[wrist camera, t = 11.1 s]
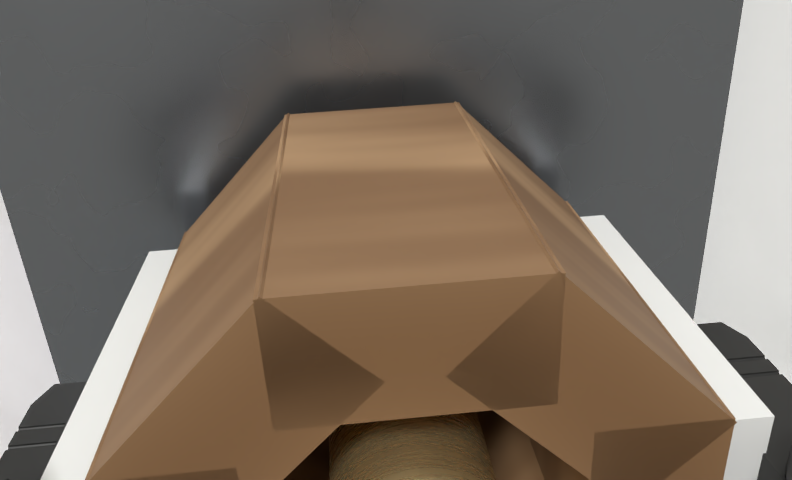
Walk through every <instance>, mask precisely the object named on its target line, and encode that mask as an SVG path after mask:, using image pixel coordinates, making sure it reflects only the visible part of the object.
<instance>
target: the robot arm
mask: <svg viewBox="0 0 792 480" xmlns="http://www.w3.org/2000/svg"><path fill="white" fill-rule="evenodd" d="M580 218H581V219H582V221H583V222H584V223H585V224H586V226H587V227H588V228H589V230H590V231H591V232H592V234H593V235H594V236H595V237H596V239H597V240H598V241H599V243H600V244H601V245H602V246H603V248H604V249H605V250H606V252H607V253H608V254H609V255H610V257H611V258H612V259H613V261H614V262H615V263H616V265H617V266H618V267H619V268H620V270H621V271H622V272H623V274H624V275H625V276H626V277H627V279H628V280H629V281H630V283H631V284H632V285H633V286H634V288H635V289H636V290H637V292H638V293H639V294H640V296H641V297H642V298H643V299H644V301H645V302H646V303H647V305H648V306H649V307H650V308H651V310H652V311H653V312H654V314H655V315H656V316H657V317H658V319H659V320H660V321H661V323H662V324H663V325H664V326H665V328H666V329H667V330H668V332H669V333H670V334H671V336H672V337H673V338H674V339H675V341H676V342H677V343H678V345H679V346H680V347H681V348H682V350H683V351H684V352H685V354H686V355H687V356H688V357H689V359H690V360H691V361H692V363H693V364H694V365H695V367H696V368H697V369H698V370H699V372H700V373H701V374H702V376H703V377H704V378H705V379H706V381H707V382H708V383H709V385H710V386H711V387H712V388H713V390H714V391H715V392H716V394H717V395H718V396H719V397H720V399H721V400H722V401H723V403H724V404H725V405H726V407H727V408H728V409H729V410H730V412H731V413H732V414H733V416H734V417H735V418H736V419H735V421H736V422H737V423H736V424H735V425H734V429H733V434H732V439H731V444H730V449H729V454H728V459H727V464H726V468H725V473H724V478H723V480H792V384H791V383H790V382H789V381H788V380H787V379H786V378H785V377H784V376H783V375H782V374H781V375H779V370H778V369H777V368H776V367H775V366H774V365H773V364H772V363H771V362H770V361H769V360H768V359H765V357H764V356H765V355H764V354H763V353H762V352H761V351H760V350H759V349H758V348H757V347H756V346H755V345H754V344H753V343H752V342H751V341H750V340H749V338H748V337H746V336H744V335H743V334H741V333H739V332H737V331H736V330H734V329H732V328H730V327H729V326H727V325H725V324H723V323H722V322H718V323H707V324H696V323H695V322H694V321H693V320H692V318H691V317H690V316H689V315H688V314H687V313H686V311H685V310H684V309H683V308H682V307H681V305H680V304H679V303H678V302H677V301H676V300H675V298H674V297H673V296H672V295H671V294H670V293H669V291H668V290H667V289H666V288H665V287H664V285H663V284H662V283H661V282H660V281H659V280H658V278H657V277H656V276H655V275H654V274H653V273H652V271H651V270H650V269H649V268H648V267H647V265H646V264H645V263H644V262H643V261H642V260H641V258H640V257H639V256H638V255H637V254H636V253H635V251H634V250H633V249H632V248H631V247H630V245H629V244H628V243H627V242H626V241H625V240H624V238H623V237H622V236H621V235H620V234H619V233H618V231H617V230H616V229H615V228H614V227H613V225H612V224H611V223H610V222H609V221H608V220H607V218H606V217H605V216H604V215H598V216H585V217H580ZM177 250H178V249H175V250H162V251H150V252H149V253H148V255H147V257H146V260H145V262H144V264H143V266H142V268H141V270H140V272H139V274H138V276H137V278H136V280H135V283H134V285H133V287H132V289H131V291H130V293H129V295H128V297H127V299H126V301H125V303H124V306H123V308H122V310H121V312H120V314H119V316H118V318H117V320H116V322H115V324H114V327H113V329H112V331H111V333H110V335H109V337H108V339H107V341H106V343H105V345H104V347H103V350H102V352H101V354H100V356H99V358H98V360H97V362H96V364H95V366H94V368H93V370H92V373H91V375H90V377H89V379H88V381H86V382H75V383H64V384H54V385H53V386H52V387H51V388H50V389H49V390H48V391H46V392H45V393H44V394H43V395H42V396H41V397H40V398H38V399H37V400H36V401H35V402H34V403H33V404H32V405H31V406H30V408H29V410H28V411H27V413H26V415H25V417H24V418H23V420H22V422H21V424H20V426H19V431H18V432H16V433H15V434H14V436H13V438H12V440H11V441H10V443H9V445H8V450H5V452H4V454H3V456H2V457H1V459H0V480H85V478H86V476H87V473H88V471H89V468H90V466H91V463H92V461H93V458H94V456H95V453H96V451H97V448H98V446H99V443H100V441H101V438H102V436H103V433H104V431H105V428H106V426H107V423H108V421H109V418H110V416H111V414H112V411H113V409H114V406H115V404H116V401H117V399H118V396H119V394H120V391H121V389H122V386H123V384H124V381H125V379H126V376H127V374H128V371H129V369H130V366H131V364H132V361H133V359H134V356H135V354H136V352H137V349H138V347H139V344H140V342H141V339H142V337H143V334H144V332H145V329H146V327H147V324H148V322H149V319H150V317H151V314H152V312H153V309H154V307H155V304H156V302H157V299H158V297H159V294H160V292H161V289H162V287H163V285H164V282H165V280H166V277H167V275H168V272H169V270H170V267H171V265H172V262H173V260H174V257H175V255H176V252H177Z"/></svg>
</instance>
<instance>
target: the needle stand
mask: <svg viewBox="0 0 792 480" xmlns="http://www.w3.org/2000/svg"><path fill="white" fill-rule="evenodd" d="M742 7H743V0H0V190H1V193H2V197H3V200H4V203H5V206H6V210H7V213H8V216H9V219H10V223H11V226H12V229H13V232H14V235H15V239H16V242H17V245H18V248H19V252H20V255H21V258H22V261H23V265H24V268H25V271H26V274H27V278H28V281H29V284H30V287H31V291H32V294H33V297H34V300H35V304H36V307H37V310H38V313H39V317H40V320H41V323H42V326H43V329H44V333H45V336H46V339H47V342H48V346H49V349H50V352H51V355H52V359H53V362H54V365H55V368H56V372H57V375H58V378H59V381H60V384H64V383H75V382H86V381H88V379H89V377H90V375H91V373H92V370H93V368H94V366H95V364H96V362H97V360H98V358H99V356H100V354H101V352H102V350H103V347H104V345H105V343H106V341H107V339H108V337H109V335H110V333H111V331H112V329H113V327H114V324H115V322H116V320H117V318H118V316H119V314H120V312H121V310H122V308H123V306H124V303H125V301H126V299H127V297H128V295H129V293H130V291H131V289H132V287H133V285H134V283H135V280H136V278H137V276H138V274H139V272H140V270H141V268H142V266H143V264H144V262H145V260H146V257H147V255H148V253H149V252H150V251H162V250H175V249H178V247H179V245H180V242H181V240H182V237H183V235H184V232H187V231H188V230H189V228H190V227H191V226H192V225H193V224H194V223H195V221H196V220H197V219H198V218H199V217H200V216H201V214H202V213H203V212H204V211H205V210H206V209H207V207H208V206H209V205H210V204H211V203H212V202H213V200H214V199H215V198H216V197H217V196H218V195H219V193H220V192H221V191H222V190H223V189H224V187H225V186H226V185H227V184H228V183H229V182H230V180H231V179H232V178H233V177H234V176H235V175H236V173H237V172H238V171H239V170H240V169H241V168H242V166H243V165H244V164H245V163H246V162H247V161H248V159H249V158H250V157H251V156H252V155H253V154H254V152H255V151H256V150H257V149H258V148H259V146H260V145H261V144H262V143H263V142H264V141H265V139H266V138H267V137H268V136H269V135H270V134H271V132H272V131H273V130H274V129H275V128H276V127H277V125H278V124H279V123H280V122H281V121H282V120H283V118H284V115H286V114H288V113H289V114H300V113H315V112H329V111H343V110H357V109H371V108H385V107H400V106H414V105H428V104H442V103H454V102H455V101H456V102H459V103H460V105H461V106H462V108H463V109H465V110H466V111H467V112H468V113H469V114H470V115H471V116H472V117H473V118H474V119H476V120H477V121H478V122H479V123H480V124H481V125H482V126H483V127H484V128H485V129H487V130H488V131H489V132H490V133H491V134H492V135H493V136H494V137H495V138H496V139H497V140H499V141H500V142H501V143H502V144H503V145H504V146H505V147H506V148H507V149H508V150H510V151H511V152H512V153H513V154H514V155H515V156H516V157H517V158H518V159H519V160H521V161H522V162H523V163H524V164H525V165H526V166H527V167H528V168H529V169H530V170H532V171H533V172H534V173H535V174H536V175H537V176H538V177H539V178H540V179H541V180H543V181H544V182H545V183H546V184H547V185H548V186H549V187H550V188H551V189H552V190H554V191H555V192H556V193H557V194H558V195H559V196H560V197H561V198H562V199H563V200H565V201H568V203H569V204H570V205H571V206H572V208H573V209H574V210H575V212H576V213H577V214H578V215H579V217H585V216H598V215H604V216H605V217H606V218H607V220H608V221H609V222H610V223H611V224H612V225H613V227H614V228H615V229H616V230H617V231H618V233H619V234H620V235H621V236H622V237H623V238H624V240H625V241H626V242H627V243H628V244H629V245H630V247H631V248H632V249H633V250H634V251H635V253H636V254H637V255H638V256H639V257H640V258H641V260H642V261H643V262H644V263H645V264H646V265H647V267H648V268H649V269H650V270H651V271H652V273H653V274H654V275H655V276H656V277H657V278H658V280H659V281H660V282H661V283H662V284H663V285H664V287H665V288H666V289H667V290H668V291H669V293H670V294H671V295H672V296H673V297H674V298H675V300H676V301H677V302H678V303H679V304H680V305H681V307H682V308H683V309H684V310H685V311H686V313H687V314H688V315H689V316H690V317H691V318H692V320H693V318H694V312H695V305H696V299H697V293H698V286H699V280H700V274H701V267H702V261H703V255H704V248H705V242H706V235H707V229H708V223H709V216H710V210H711V204H712V197H713V191H714V185H715V178H716V172H717V166H718V159H719V153H720V146H721V140H722V134H723V127H724V121H725V115H726V108H727V102H728V96H729V89H730V83H731V76H732V70H733V64H734V57H735V51H736V45H737V38H738V32H739V26H740V19H741V13H742ZM329 479H330V480H496V476H495V473H494V470H493V466H492V463H491V459H490V456H489V452H488V449H487V446H486V442H485V439H484V435H483V432H482V429H481V425H480V422H479V418H478V415H477V412H469V413H458V414H448V415H437V416H427V417H417V418H406V419H396V420H386V421H375V422H365V423H354V424H344V425H340V426H339V427H338V428H337V429H335V430H334V431H333V432H332V433H331V434H330V435H329Z"/></svg>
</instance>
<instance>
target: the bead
mask: <svg viewBox="0 0 792 480" xmlns="http://www.w3.org/2000/svg"><path fill="white" fill-rule="evenodd" d="M469 412H477V415H478V418H479V422H480V425H481V429H482V432H483V435H484V439H485V442H486V446H487V449H488V452H489V456H490V459H491V463H492V466H493V470H494V473H495V476H496V480H723V478H724V473H725V468H726V464H727V459H728V454H729V449H730V444H731V439H732V434H733V429H734V425H735V424H736V423H737V422H736V421H735V419H736V418H735V417H734V416H733V414H732V413H731V412H730V410H729V409H728V408H727V407H726V405H725V404H724V403H723V401H722V400H721V399H720V397H719V396H718V395H717V394H716V392H715V391H714V390H713V388H712V387H711V386H710V385H709V383H708V382H707V381H706V379H705V378H704V377H703V376H702V374H701V373H700V372H699V370H698V369H697V368H696V367H695V365H694V364H693V363H692V361H691V360H690V359H689V357H688V356H687V355H686V354H685V352H684V351H683V350H682V348H681V347H680V346H679V345H678V343H677V342H676V341H675V339H674V338H673V337H672V336H671V334H670V333H669V332H668V330H667V329H666V328H665V326H664V325H663V324H662V323H661V321H660V320H659V319H658V317H657V316H656V315H655V314H654V312H653V311H652V310H651V308H650V307H649V306H648V305H647V303H646V302H645V301H644V299H643V298H642V297H641V296H640V294H639V293H638V292H637V290H636V289H635V288H634V286H633V285H632V284H631V283H630V281H629V280H628V279H627V277H626V276H625V275H624V274H623V272H622V271H621V270H620V268H619V267H618V266H617V265H616V263H615V262H614V261H613V259H612V258H611V257H610V255H609V254H608V253H607V252H606V250H605V249H604V248H603V246H602V245H601V244H600V243H599V241H598V240H597V239H596V237H595V236H594V235H593V234H592V232H591V231H590V230H589V228H588V227H587V226H586V224H585V223H584V222H583V221H582V219H581V218H580V217H579V215H578V214H577V213H576V212H575V210H574V209H573V208H572V206H571V205H570V204H569V203H568V201H565V200H563V199H562V198H561V197H560V196H559V195H558V194H557V193H556V192H555V191H554V190H552V189H551V188H550V187H549V186H548V185H547V184H546V183H545V182H544V181H543V180H541V179H540V178H539V177H538V176H537V175H536V174H535V173H534V172H533V171H532V170H530V169H529V168H528V167H527V166H526V165H525V164H524V163H523V162H522V161H521V160H519V159H518V158H517V157H516V156H515V155H514V154H513V153H512V152H511V151H510V150H508V149H507V148H506V147H505V146H504V145H503V144H502V143H501V142H500V141H499V140H497V139H496V138H495V137H494V136H493V135H492V134H491V133H490V132H489V131H488V130H487V129H485V128H484V127H483V126H482V125H481V124H480V123H479V122H478V121H477V120H476V119H474V118H473V117H472V116H471V115H470V114H469V113H468V112H467V111H466V110H465V109H463V108H462V106H461V105H460V103H459V102H456V101H455V102H454V103H442V104H428V105H414V106H400V107H385V108H371V109H357V110H343V111H329V112H315V113H300V114H289V113H288V114H286V115H284V118H283V120H282V121H281V122H280V123H279V124H278V125H277V127H276V128H275V129H274V130H273V131H272V132H271V134H270V135H269V136H268V137H267V138H266V139H265V141H264V142H263V143H262V144H261V145H260V146H259V148H258V149H257V150H256V151H255V152H254V154H253V155H252V156H251V157H250V158H249V159H248V161H247V162H246V163H245V164H244V165H243V166H242V168H241V169H240V170H239V171H238V172H237V173H236V175H235V176H234V177H233V178H232V179H231V180H230V182H229V183H228V184H227V185H226V186H225V187H224V189H223V190H222V191H221V192H220V193H219V195H218V196H217V197H216V198H215V199H214V200H213V202H212V203H211V204H210V205H209V206H208V207H207V209H206V210H205V211H204V212H203V213H202V214H201V216H200V217H199V218H198V219H197V220H196V221H195V223H194V224H193V225H192V226H191V227H190V228H189V230H188V231H187V232H184V235H183V237H182V240H181V242H180V245H179V247H178V250H177V252H176V255H175V257H174V260H173V262H172V265H171V267H170V270H169V272H168V275H167V277H166V280H165V282H164V285H163V287H162V289H161V292H160V294H159V297H158V299H157V302H156V304H155V307H154V309H153V312H152V314H151V317H150V319H149V322H148V324H147V327H146V329H145V332H144V334H143V337H142V339H141V342H140V344H139V347H138V349H137V352H136V354H135V356H134V359H133V361H132V364H131V366H130V369H129V371H128V374H127V376H126V379H125V381H124V384H123V386H122V389H121V391H120V394H119V396H118V399H117V401H116V404H115V406H114V409H113V411H112V414H111V416H110V418H109V421H108V423H107V426H106V428H105V431H104V433H103V436H102V438H101V441H100V443H99V446H98V448H97V451H96V453H95V456H94V458H93V461H92V463H91V466H90V468H89V471H88V473H87V476H86V478H85V480H330V479H329V435H330V434H331V433H332V432H333V431H334V430H335V429H337V428H338V427H339V426H340V425H344V424H354V423H365V422H375V421H386V420H396V419H406V418H417V417H427V416H437V415H448V414H458V413H469Z"/></svg>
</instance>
